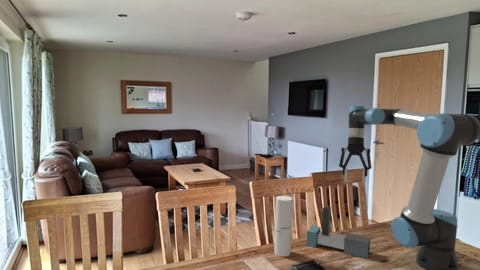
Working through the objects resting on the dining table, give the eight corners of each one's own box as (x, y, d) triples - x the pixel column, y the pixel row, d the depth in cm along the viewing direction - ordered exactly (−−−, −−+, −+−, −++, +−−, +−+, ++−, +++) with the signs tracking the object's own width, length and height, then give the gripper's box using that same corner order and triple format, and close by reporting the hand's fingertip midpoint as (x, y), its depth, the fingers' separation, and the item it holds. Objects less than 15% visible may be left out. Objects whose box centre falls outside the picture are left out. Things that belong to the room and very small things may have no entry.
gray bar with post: (351, 247, 148) (353, 210, 146) (349, 251, 144) (351, 213, 142) (313, 238, 156) (314, 203, 154) (310, 242, 152) (311, 206, 150)
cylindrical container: (290, 257, 139) (292, 201, 137) (273, 255, 141) (275, 199, 138) (290, 250, 146) (292, 196, 144) (275, 248, 148) (276, 195, 145)
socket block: (320, 240, 156) (320, 227, 156) (315, 247, 149) (316, 232, 148) (311, 239, 158) (312, 225, 158) (306, 245, 151) (307, 231, 150)
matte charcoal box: (369, 252, 145) (370, 237, 144) (367, 258, 139) (368, 243, 138) (346, 247, 150) (347, 232, 149) (343, 253, 144) (344, 238, 143)
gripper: (379, 137, 160) (377, 183, 160) (336, 136, 169) (335, 179, 169) (377, 137, 153) (376, 185, 153) (333, 136, 163) (332, 181, 163)
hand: (354, 182), depth 161 cm, fingers open, 8 cm apart
